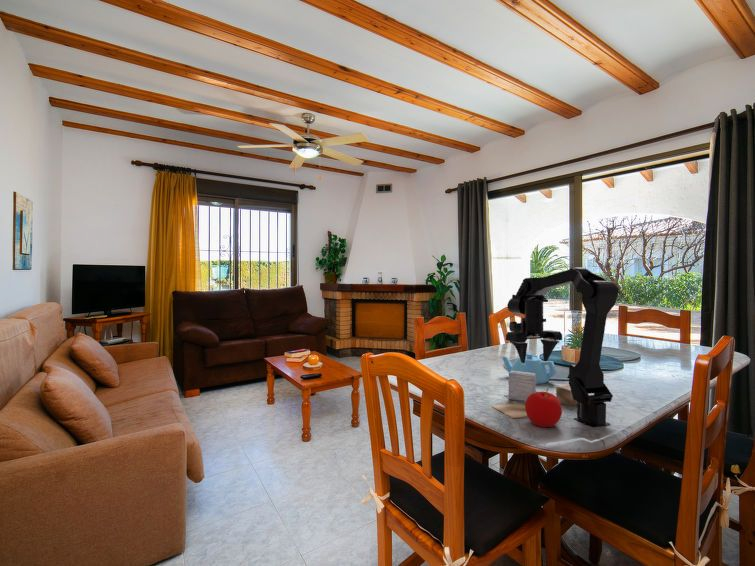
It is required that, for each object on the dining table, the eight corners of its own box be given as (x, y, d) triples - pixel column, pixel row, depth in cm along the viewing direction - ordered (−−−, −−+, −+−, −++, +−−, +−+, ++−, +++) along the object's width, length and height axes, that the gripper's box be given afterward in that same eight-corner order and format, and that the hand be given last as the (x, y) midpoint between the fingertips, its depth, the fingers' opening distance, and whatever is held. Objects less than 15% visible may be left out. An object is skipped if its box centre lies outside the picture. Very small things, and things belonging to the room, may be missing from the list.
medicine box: (536, 399, 120) (536, 373, 120) (534, 403, 116) (534, 376, 116) (510, 395, 124) (511, 370, 124) (508, 399, 120) (508, 372, 120)
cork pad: (542, 415, 106) (542, 414, 106) (513, 418, 103) (513, 417, 103) (519, 403, 116) (519, 402, 116) (492, 407, 113) (492, 406, 113)
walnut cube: (580, 404, 116) (580, 388, 116) (570, 406, 114) (570, 390, 113) (566, 399, 120) (566, 384, 120) (556, 401, 118) (556, 386, 118)
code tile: (541, 406, 116) (541, 404, 116) (526, 407, 114) (526, 405, 114) (518, 395, 126) (518, 393, 126) (503, 397, 124) (503, 395, 124)
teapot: (520, 387, 134) (520, 358, 134) (500, 377, 149) (501, 350, 149) (559, 386, 136) (559, 357, 136) (535, 375, 151) (536, 349, 151)
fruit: (550, 434, 93) (550, 395, 93) (518, 422, 101) (518, 386, 100) (568, 426, 99) (569, 388, 99) (537, 415, 106) (537, 381, 106)
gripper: (539, 313, 134) (539, 356, 134) (495, 314, 128) (495, 359, 128) (563, 315, 123) (563, 362, 123) (516, 316, 118) (517, 365, 117)
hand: (534, 361), depth 123 cm, fingers open, 9 cm apart
